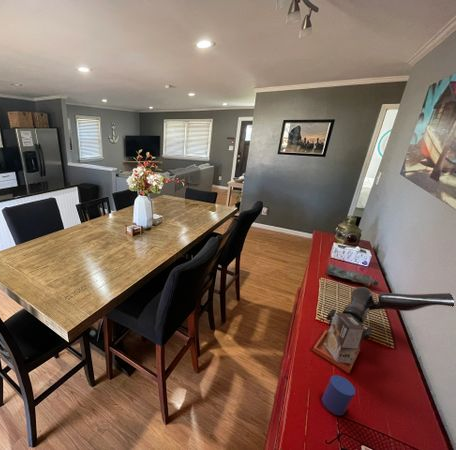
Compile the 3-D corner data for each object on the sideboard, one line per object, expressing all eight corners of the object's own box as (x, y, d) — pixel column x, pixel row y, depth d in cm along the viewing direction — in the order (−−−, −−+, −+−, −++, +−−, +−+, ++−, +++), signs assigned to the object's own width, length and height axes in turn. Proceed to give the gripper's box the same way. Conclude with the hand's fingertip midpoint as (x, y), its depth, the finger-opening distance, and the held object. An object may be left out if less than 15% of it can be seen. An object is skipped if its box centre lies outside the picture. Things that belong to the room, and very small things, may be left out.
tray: (358, 352, 99) (360, 348, 98) (349, 373, 90) (350, 369, 89) (324, 333, 107) (325, 329, 107) (312, 350, 99) (313, 347, 98)
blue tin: (347, 406, 79) (357, 386, 75) (341, 420, 75) (352, 400, 71) (325, 391, 84) (334, 371, 80) (318, 403, 80) (327, 383, 76)
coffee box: (353, 364, 91) (368, 331, 86) (335, 362, 92) (349, 328, 86) (338, 345, 100) (351, 313, 94) (322, 343, 100) (334, 311, 95)
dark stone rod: (323, 276, 149) (375, 293, 133) (326, 266, 147) (380, 282, 131) (326, 269, 159) (376, 285, 143) (329, 259, 156) (380, 274, 141)
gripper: (372, 330, 100) (362, 351, 91) (332, 311, 110) (320, 328, 101) (378, 317, 97) (369, 337, 88) (338, 298, 107) (325, 314, 98)
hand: (343, 332), depth 94 cm, fingers open, 8 cm apart
